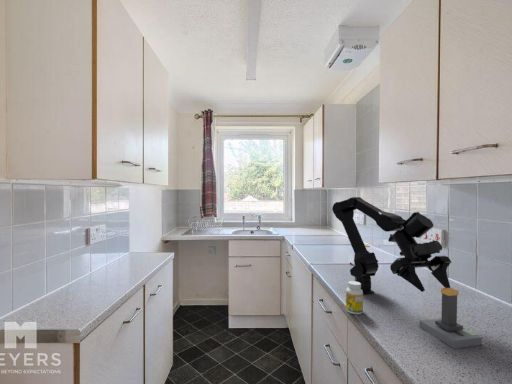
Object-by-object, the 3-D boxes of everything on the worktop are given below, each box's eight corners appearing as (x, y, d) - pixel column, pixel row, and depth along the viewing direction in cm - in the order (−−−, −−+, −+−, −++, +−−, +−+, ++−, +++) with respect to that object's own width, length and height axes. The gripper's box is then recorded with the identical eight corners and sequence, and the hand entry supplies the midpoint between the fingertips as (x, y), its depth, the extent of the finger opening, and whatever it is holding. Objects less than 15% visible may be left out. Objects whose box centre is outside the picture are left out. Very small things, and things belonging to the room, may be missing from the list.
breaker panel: (419, 326, 79) (419, 320, 79) (444, 324, 81) (444, 317, 81) (454, 348, 69) (454, 340, 69) (481, 344, 71) (481, 336, 71)
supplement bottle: (366, 314, 87) (366, 285, 87) (351, 315, 86) (351, 286, 86) (356, 307, 92) (357, 279, 92) (342, 308, 91) (343, 280, 91)
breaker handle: (435, 324, 76) (436, 287, 76) (449, 322, 77) (450, 286, 77) (448, 331, 72) (448, 292, 72) (462, 329, 74) (463, 291, 73)
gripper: (397, 232, 82) (426, 279, 72) (446, 231, 86) (481, 275, 76) (379, 251, 90) (404, 296, 79) (425, 249, 94) (454, 292, 83)
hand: (436, 290), depth 79 cm, fingers open, 9 cm apart
